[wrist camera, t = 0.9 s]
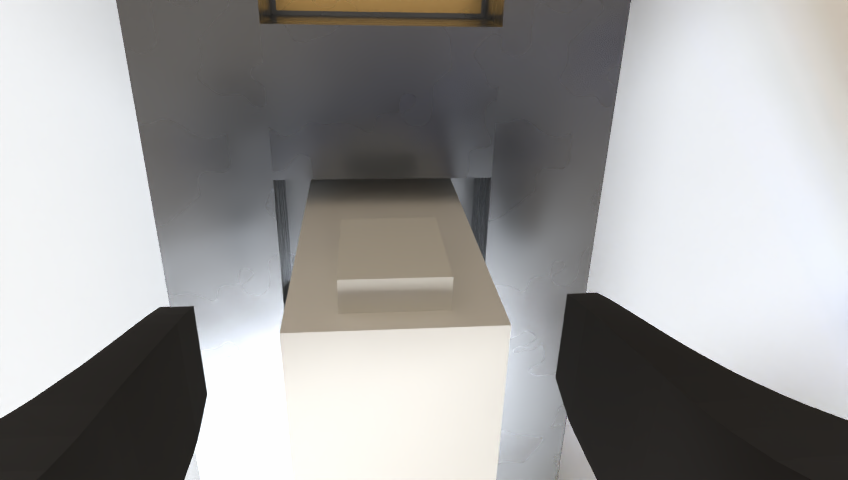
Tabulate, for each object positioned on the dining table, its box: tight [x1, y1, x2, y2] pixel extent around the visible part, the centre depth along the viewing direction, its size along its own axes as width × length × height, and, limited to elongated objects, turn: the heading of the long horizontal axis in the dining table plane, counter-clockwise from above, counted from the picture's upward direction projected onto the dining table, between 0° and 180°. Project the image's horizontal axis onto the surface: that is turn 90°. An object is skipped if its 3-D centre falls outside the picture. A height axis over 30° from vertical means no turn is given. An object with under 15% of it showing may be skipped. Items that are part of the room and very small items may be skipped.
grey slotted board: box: [116, 0, 631, 480], centre depth 16 cm, size 10×24×2 cm, turn 179°
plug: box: [279, 178, 511, 480], centre depth 13 cm, size 4×4×7 cm
